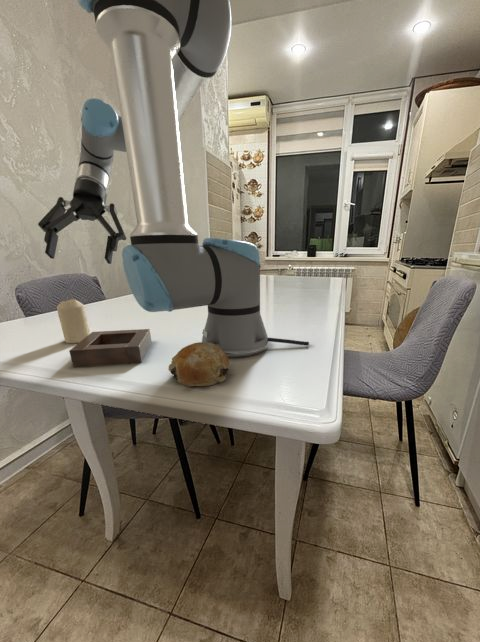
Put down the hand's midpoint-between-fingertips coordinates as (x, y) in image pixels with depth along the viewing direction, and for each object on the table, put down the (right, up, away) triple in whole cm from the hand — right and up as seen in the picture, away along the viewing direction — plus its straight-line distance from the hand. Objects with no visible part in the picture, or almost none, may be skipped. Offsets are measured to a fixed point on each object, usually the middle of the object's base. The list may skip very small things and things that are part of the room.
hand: (79, 258), depth 74 cm
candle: (+1, -21, -1) cm, 21 cm away
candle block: (+15, -24, -10) cm, 30 cm away
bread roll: (+35, -28, -21) cm, 50 cm away
